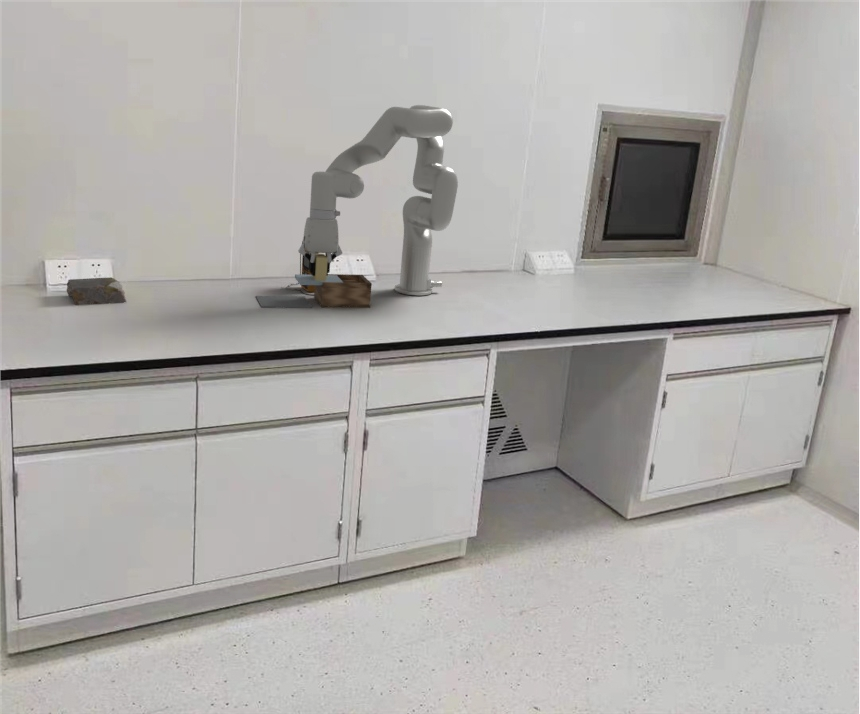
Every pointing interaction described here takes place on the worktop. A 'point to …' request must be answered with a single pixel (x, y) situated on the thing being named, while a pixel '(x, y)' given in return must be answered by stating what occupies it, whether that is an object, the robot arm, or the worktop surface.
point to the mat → (284, 301)
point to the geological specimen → (95, 291)
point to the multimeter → (304, 272)
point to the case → (344, 292)
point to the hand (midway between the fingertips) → (319, 274)
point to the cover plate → (312, 282)
